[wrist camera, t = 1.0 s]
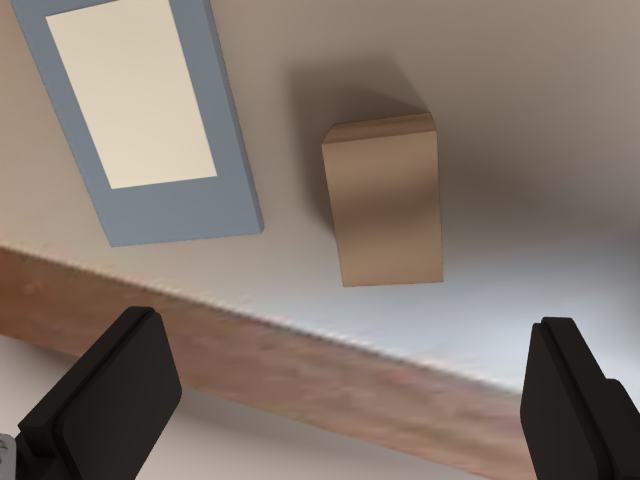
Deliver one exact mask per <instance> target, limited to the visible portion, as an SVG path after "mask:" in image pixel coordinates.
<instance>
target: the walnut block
mask: <svg viewBox="0 0 640 480" xmlns="http://www.w3.org/2000/svg"><path fill="white" fill-rule="evenodd" d="M321 146H322V153H323V159H324V165H325V172H326V178H327V185H328V191H329V197H330V204H331V210H332V217H333V223H334V229H335V236H336V242H337V248H338V255H339V261H340V268H341V274H342V280H343V287H354V286H374V285H395V284H415V283H435V282H443V261H442V239H441V217H440V195H439V173H438V151H437V131H436V127H435V124H434V121H433V118H432V115H431V112H429V113H421V114H413V115H406V116H398V117H390V118H382V119H374V120H366V121H358V122H350V123H342V124H334V125H332V127H331V129H330V130H329V132H328V134H327V136H326V137H325V139H324V141H323V142H322V144H321Z"/></svg>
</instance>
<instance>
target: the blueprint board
mask: <svg viewBox="0 0 640 480" xmlns="http://www.w3.org/2000/svg"><path fill="white" fill-rule="evenodd" d="M10 2H11V5H12V7H13V10H14V12H15V15H16V17H17V20H18V22H19V24H20V27H21V29H22V32H23V34H24V37H25V39H26V41H27V44H28V46H29V49H30V51H31V54H32V56H33V59H34V61H35V63H36V66H37V68H38V71H39V73H40V76H41V78H42V80H43V83H44V85H45V88H46V90H47V93H48V95H49V97H50V100H51V102H52V105H53V107H54V110H55V112H56V115H57V117H58V119H59V122H60V124H61V127H62V129H63V132H64V134H65V136H66V139H67V141H68V144H69V146H70V149H71V151H72V154H73V156H74V158H75V161H76V163H77V166H78V168H79V171H80V173H81V175H82V178H83V180H84V183H85V185H86V188H87V190H88V192H89V195H90V197H91V200H92V202H93V205H94V207H95V210H96V212H97V214H98V217H99V219H100V222H101V224H102V227H103V229H104V231H105V234H106V236H107V239H108V241H109V244H110V246H111V247H119V246H130V245H141V244H152V243H163V242H174V241H185V240H196V239H207V238H218V237H228V236H239V235H250V234H261V232H262V231H263V229H264V228H265V227H264V223H263V219H262V215H261V211H260V207H259V203H258V199H257V195H256V190H255V186H254V182H253V178H252V174H251V170H250V166H249V162H248V158H247V154H246V149H245V145H244V141H243V137H242V133H241V129H240V125H239V121H238V117H237V113H236V108H235V104H234V100H233V96H232V92H231V88H230V84H229V80H228V76H227V72H226V67H225V63H224V59H223V55H222V51H221V47H220V43H219V39H218V35H217V31H216V26H215V22H214V18H213V14H212V10H211V6H210V2H209V0H10Z"/></svg>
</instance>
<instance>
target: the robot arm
mask: <svg viewBox="0 0 640 480" xmlns="http://www.w3.org/2000/svg"><path fill="white" fill-rule="evenodd" d="M181 395H182V388H181V384H180V381H179V377H178V374H177V370H176V367H175V363H174V360H173V356H172V353H171V349H170V346H169V342H168V339H167V335H166V332H165V328H164V325H163V321H162V318H161V315H160V314H159V313H157V312H155V310H154V309H153V308H152V307H137V306H132V307H129V308H127V309H126V310H125V311H124V312H123V313H122V314H121V315H120V317H119V318H118V319H117V320H116V321H115V322H114V323H113V324H112V325H111V326H110V327H109V328H108V329H107V330H106V331H105V332H104V334H103V335H102V336H101V337H100V338H99V339H98V340H97V341H96V342H95V343H94V344H93V345H92V346H91V347H90V348H89V349H88V351H87V352H86V353H85V354H84V355H83V356H82V357H81V358H80V359H79V360H78V361H77V362H76V363H75V364H74V365H73V367H72V368H71V369H70V370H69V371H68V372H67V373H66V374H65V375H64V376H63V377H62V378H61V379H60V380H59V381H58V382H57V384H56V385H55V386H54V387H53V388H52V389H51V390H50V391H49V392H48V393H47V394H46V395H45V396H44V397H43V399H42V400H41V401H40V402H39V403H38V404H37V405H36V406H35V407H34V408H33V409H32V410H31V411H30V412H29V413H28V414H27V416H26V417H25V418H24V419H23V420H22V421H21V422H20V423H19V424H18V427H19V429H20V431H21V432H20V433H19V434H18V436H16V438H15V439H14V438H13V437H11V436H10V435H8V434H2V433H1V434H0V480H135V478H136V476H137V474H138V473H139V471H140V469H141V468H142V466H143V464H144V462H145V461H146V459H147V457H148V456H149V454H150V452H151V450H152V449H153V447H154V445H155V443H156V442H157V440H158V438H159V436H160V435H161V433H162V431H163V430H164V428H165V426H166V424H167V423H168V421H169V419H170V417H171V415H172V414H173V412H174V410H175V409H176V407H177V405H178V404H179V402H180V399H181ZM520 418H521V424H522V428H523V431H524V435H525V438H526V442H527V445H528V449H529V452H530V455H531V459H532V462H533V466H534V469H535V473H536V476H537V479H538V480H640V413H639V412H638V410H637V408H636V407H635V405H634V403H633V402H632V400H631V398H630V397H629V395H628V393H627V392H626V390H625V388H624V387H623V385H622V384H621V383H620V382H619V381H618V380H616V379H607V378H605V376H604V374H603V372H602V371H601V369H600V367H599V365H598V363H597V362H596V360H595V358H594V356H593V354H592V353H591V351H590V349H589V347H588V346H587V344H586V342H585V340H584V338H583V337H582V335H581V333H580V331H579V329H578V328H577V326H576V324H575V322H574V321H573V319H572V318H564V317H544V318H543V319H542V320H541V323H534V324H533V327H532V333H531V340H530V346H529V353H528V360H527V366H526V373H525V380H524V387H523V393H522V400H521V407H520Z"/></svg>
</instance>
